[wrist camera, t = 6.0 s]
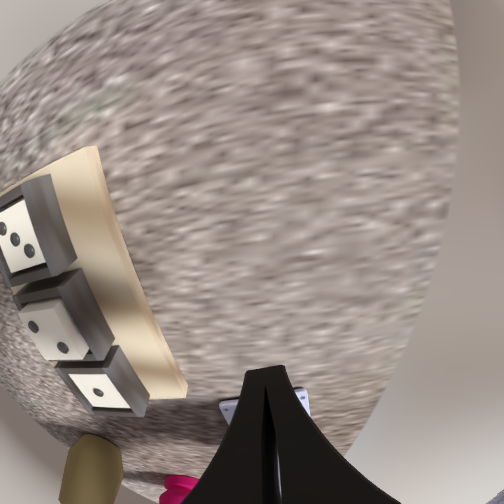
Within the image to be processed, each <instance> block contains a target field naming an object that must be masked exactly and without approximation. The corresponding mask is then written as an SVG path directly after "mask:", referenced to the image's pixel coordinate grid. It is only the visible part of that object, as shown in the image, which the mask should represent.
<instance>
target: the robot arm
mask: <svg viewBox="0 0 504 504" xmlns="http://www.w3.org/2000/svg"><path fill="white" fill-rule="evenodd" d="M219 408H220V410H221V412H222V414H223V415H224V417H225V419H226V421H227V423H228V425H229V427H228V429H227V431H226V434H225V436H224V438H223V440H222V442H221V444H220V446H219V448H218V450H217V452H216V454H215V456H214V457H213V459H212V461H211V462H210V464H209V466H208V467H207V469H206V470H205V472H204V473H203V475H202V476H201V478H200V479H199V481H198V482H197V483H196V485H195V486H194V488H193V489H192V490H191V491H190V492H189V494H188V495H187V496H186V497H185V498H184V500H183V501H182V502H181V503H180V504H401V503H400V502H398V501H397V500H396V499H394V498H392V497H391V496H389V495H388V494H387V493H385V492H384V491H382V490H381V489H380V488H378V487H377V486H376V485H374V484H373V483H372V482H370V481H369V480H368V479H367V478H365V477H364V476H363V475H362V474H361V473H360V472H359V471H358V470H357V469H355V468H354V467H353V466H352V465H351V464H350V463H349V462H348V461H347V460H346V459H345V458H344V457H343V456H342V455H341V454H340V453H339V452H338V451H337V450H336V449H335V448H334V447H333V445H332V444H331V443H330V442H329V441H328V440H327V439H326V437H325V436H324V435H323V434H322V432H321V431H320V430H319V428H318V427H317V426H316V424H315V423H314V422H313V420H312V419H311V417H310V410H309V402H308V393H307V390H306V389H303V388H302V389H297V390H294V389H293V387H292V385H291V383H290V381H289V378H288V375H287V372H286V369H285V366H283V365H276V366H271V367H266V368H260V369H254V370H248V371H247V372H246V373H245V377H244V382H243V386H242V390H241V394H240V397H239V399H237V400H229V401H222V402H220V403H219ZM486 504H504V490H502V491H501V492H500V493H498V494H497V496H496V497H495V498H493V499H492V500H490V501H489V502H488V503H486Z"/></svg>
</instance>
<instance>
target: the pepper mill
mask: <svg viewBox="0 0 504 504" xmlns="http://www.w3.org/2000/svg"><path fill="white" fill-rule="evenodd" d="M198 481H199V479H196V478H193V477H188V476H182V475H171V476H167V477H166V479H165V488H166V489H167V491H165V492H164V493H162V494H161V496H160V498H159V504H180V503H181V502H182V501H183V500H184V498H185V497H186V496H187V495H188V494H189V492H190V491H191V490H192V489H193V488H194V486H195V485H196V483H197V482H198Z"/></svg>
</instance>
